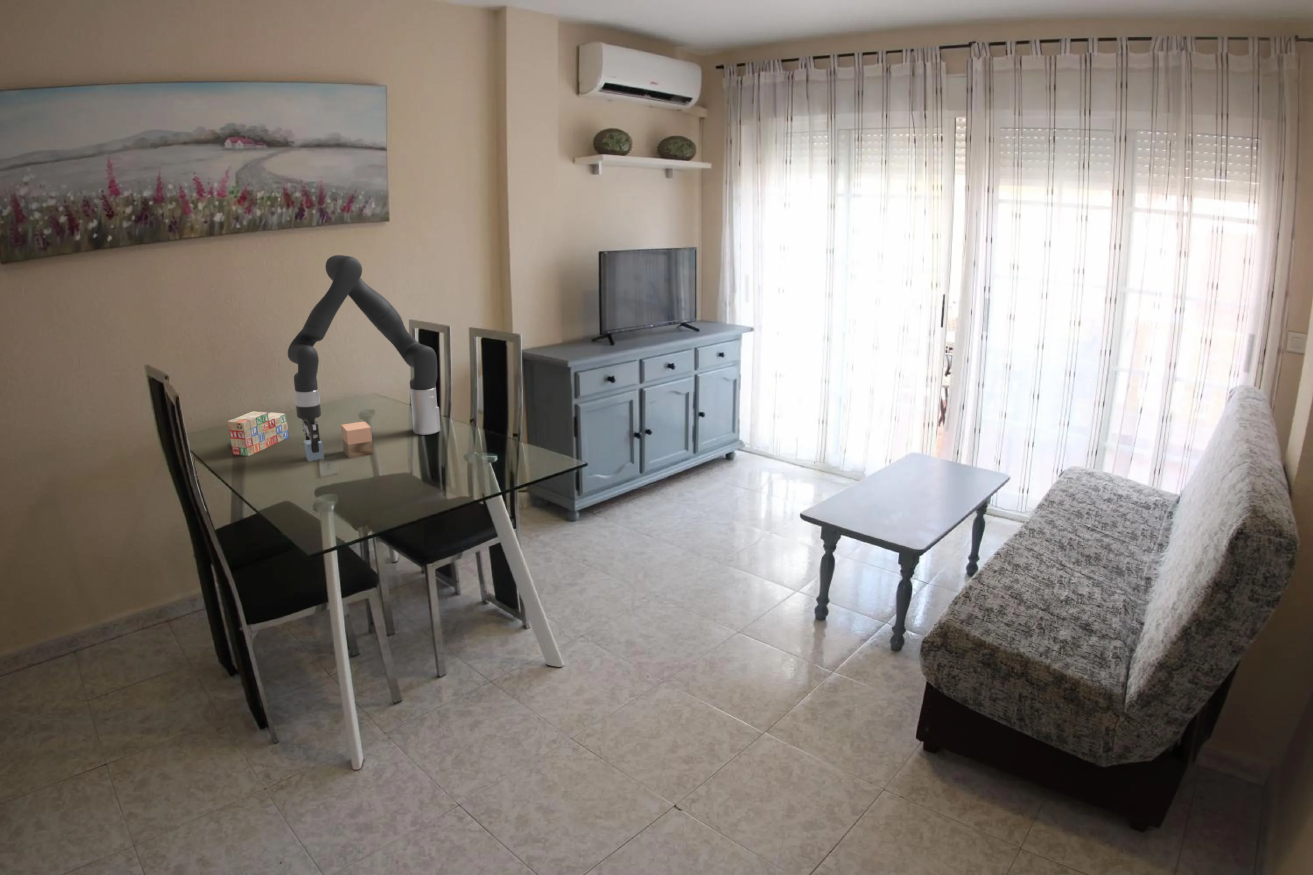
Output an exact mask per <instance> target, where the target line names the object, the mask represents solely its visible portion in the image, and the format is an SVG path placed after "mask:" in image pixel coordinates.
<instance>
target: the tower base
mask: <svg viewBox="0 0 1313 875" xmlns="http://www.w3.org/2000/svg"><path fill="white" fill-rule="evenodd" d="M342 449H343V453H344V454H346V456H347V457H348V458H349V459H353V458H361V457H365V456H371V455H372V456H373V455H374V446H373V440H372V441H370V442H364V443H357V444H351V445H348V444H347V443H346V442H345V441H344V440H343V439H342Z"/></svg>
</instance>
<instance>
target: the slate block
mask: <svg viewBox="0 0 1313 875" xmlns="http://www.w3.org/2000/svg"><path fill="white" fill-rule="evenodd" d="M318 444H319V452H317V453H313V452H312V448H311V442H310V440H306V439H304V440H303V449H304V456H305V459H306V460H307V461H308V462H314V461H313V460H315V461H319V460H318V459H321V460H323V459H322V458H324V459H325V456H324V455H325V454H324V446H323V442H322V440H321V439H320V441H319V442H318Z"/></svg>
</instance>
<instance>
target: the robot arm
mask: <svg viewBox="0 0 1313 875" xmlns="http://www.w3.org/2000/svg"><path fill="white" fill-rule="evenodd" d="M325 271H326V272H325V273H326V275H327V276H328V277H329V278H330V279H331V281H332V282H331V285H330V286H329V288H328V290H327V291H326V293H325V294H324V296H323V297H322V298H321V299H320V300H319V301H318V302H317V304H315V306H314V307H313V309H312V310H311V312H310V313H309V315H308V316H307V319H306V321H305V322H304V324H303V327H302V329H301V330H300V331H299V332H298V333H297V335H296V336H295V337H294V338H293V339H292V341H291V343H290V344H289V347H288V348H287V357H288V359H289V361H290V362H292V363H293V364H297V372H296V373H294V375H293V383H294V384H293V385H294V401H295V402H294V403H295V409H296V410H295V411H296V417H297V419H301V422H302V431H303V432H304V436H305V440H310V442H311V448H312V452H313V453H317V452H319V444H318V442H319V441H320V440H321V438H320V429H319V424H318V421H316V419H317V418H320V417H321V416H322V409H321V408H322V407H321V399H320V398H321V397H320V393H319V388H318V380H317V379H318V378H317V375H318V371H319V370H318V369H319V364H320V363H319V362H320V361H319V355H318V351H317V350H316V348H315V347H314V346H315V344H316V343H317V342H321V341H322V340H324V338H325V336H326V334H327V333H328V330H329V328H330V326H331V325H332V322H333V320H334V318H335V316H336V314H338V310H340V308H341V306H342V305H343V303H344V302H345V300H346V299H347V298H348V297H349V298H350V299H351V300H352V301H353V302H354V303H355V305H356V306H357V308H359V309H360V311H361V312H362V313H363V315H364V316H366V318H367V319H368V320H369V321H370V322H371V324H372V325H373V326H374V327H375V328H376V329H377V331H379V333H381V335H383V336H384V337H385V339H386V340H388V341H389V342H390V343H391V344H392V346H394V348H395V349H396V351H397V352H398V354H399V355H400V356H401V358H402V359H403V361H404V362H405V363H406V364H407V365H408V366H409V367H410V368H413V372H414V375H413V378H411V379H410V381H409V390H410V392H409V394H410V404H411V406H410V407H411V416H412V417H411V418H412V428H413V429H412V430H413V433H414V434H416V435H424V436H425V435H432V434H436V433H438V432H441V421H440V420H441V418H440V417H441V415H440V407H439V406H438V402H437V386H436V385H437V384H436V383H437V380H438V359H437V353H436V352H435V349H433V348H432V347H430V346H428V345H425V344H421V343H420V342H418V341H417V340H416V339H415V338H414V337H413V336H412V335H411V334H410V333H409V332H408V330H407V329H406V327H405V324H404V321H403V319H402V316H401V315H400V314H399V312H398V310H396V308H395V307H394V306H393V304H391V303H390V302H389V301H388V300H387V299H386V298H385V297H384V296H383V295H382V294H380V293H379V292H377V290H375V289H373V288H372V287H371V286H370V285H368V284H367V283H366V282H365V281H364V280H363V279H362V274H363V266H362V264H361V262H360V261H359V260H358V259H357V258H356V257H354V256H350V255H342V254H336V255H332V256H330V257H328V258H327V260H326V262H325Z"/></svg>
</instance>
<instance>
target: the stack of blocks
mask: <svg viewBox="0 0 1313 875" xmlns="http://www.w3.org/2000/svg"><path fill="white" fill-rule="evenodd" d="M227 424H228V432H229V433H228V434H229V438H230V443H231V451H232V455H235V456H236V455H237V456H243V457H249V456H252V455H254V454H257V453H258V452H260V451H263V450H265V449H267V448H269V447H272V446H273V445H275V444H278V443H280V442H282V441H285V440H286V439H289V438H290V435H289V427H288V426H289V425H288V421H287V414H286V413H283V412H266V411H265V412H264V411H250V412H248V413H244V414H242V415H240V416H238V417H235V418H231V419H230V420H228V421H227Z"/></svg>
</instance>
